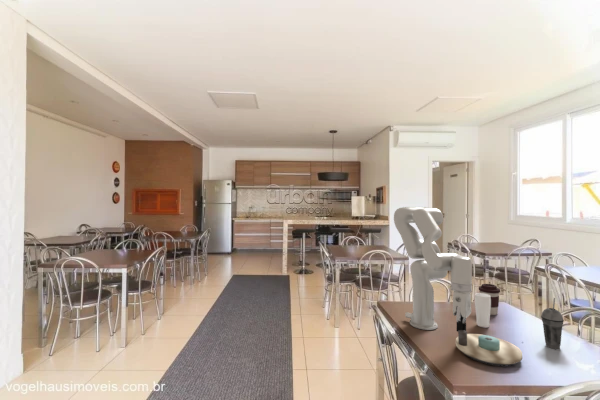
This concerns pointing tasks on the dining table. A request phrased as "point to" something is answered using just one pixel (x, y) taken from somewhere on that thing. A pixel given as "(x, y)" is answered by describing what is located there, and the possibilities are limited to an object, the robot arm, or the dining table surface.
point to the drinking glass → (483, 309)
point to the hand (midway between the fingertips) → (461, 331)
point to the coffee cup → (494, 294)
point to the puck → (489, 342)
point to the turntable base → (488, 362)
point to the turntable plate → (502, 356)
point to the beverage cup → (552, 327)
